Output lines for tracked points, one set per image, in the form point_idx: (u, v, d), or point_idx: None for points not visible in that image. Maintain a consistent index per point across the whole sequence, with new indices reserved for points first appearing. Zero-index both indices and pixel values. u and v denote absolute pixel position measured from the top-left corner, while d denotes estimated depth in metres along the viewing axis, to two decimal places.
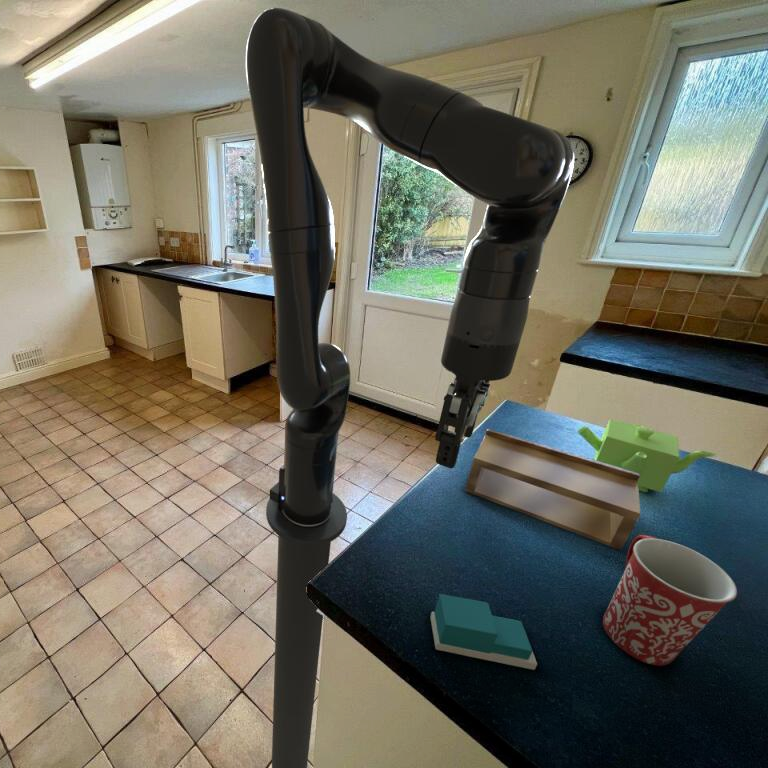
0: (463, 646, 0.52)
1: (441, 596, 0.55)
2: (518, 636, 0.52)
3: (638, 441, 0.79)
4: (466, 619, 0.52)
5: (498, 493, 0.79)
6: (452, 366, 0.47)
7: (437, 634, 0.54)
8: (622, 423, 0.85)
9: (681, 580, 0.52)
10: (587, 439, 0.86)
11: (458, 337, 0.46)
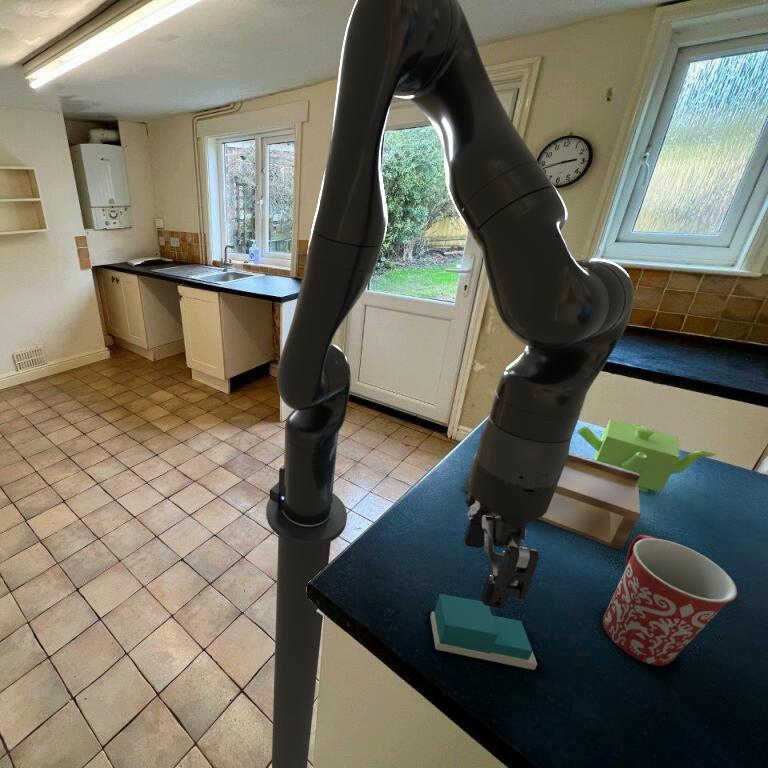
0: (463, 646, 0.52)
1: (441, 596, 0.55)
2: (518, 636, 0.52)
3: (638, 441, 0.79)
4: (466, 619, 0.52)
5: None
6: (499, 508, 0.42)
7: (437, 634, 0.54)
8: (622, 423, 0.85)
9: (681, 580, 0.52)
10: (587, 439, 0.86)
11: (506, 480, 0.40)
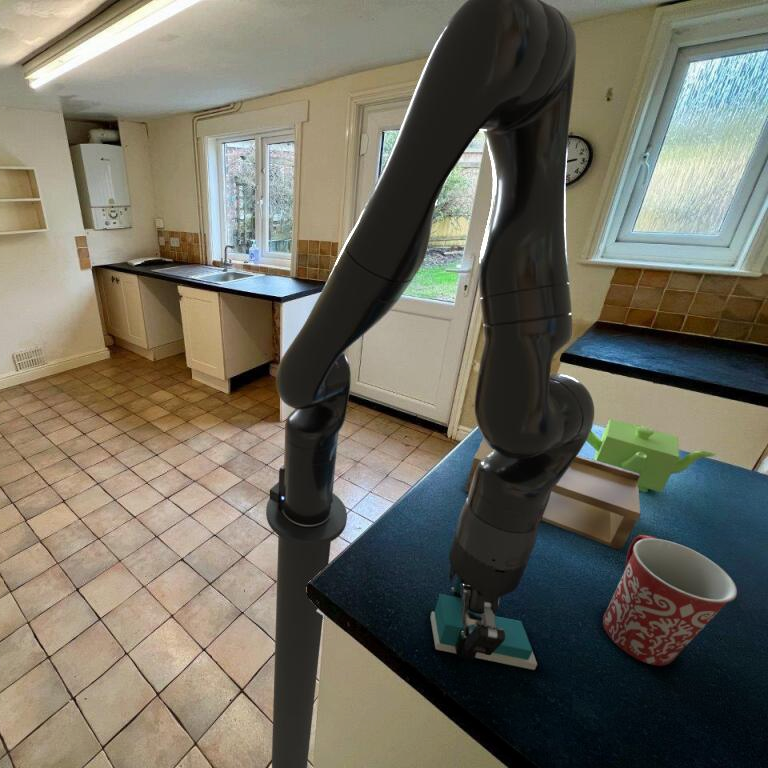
0: None
1: (441, 596, 0.55)
2: (518, 636, 0.52)
3: (638, 441, 0.79)
4: None
5: None
6: (474, 583, 0.46)
7: (437, 634, 0.54)
8: (622, 423, 0.85)
9: (681, 580, 0.52)
10: (587, 439, 0.86)
11: (480, 560, 0.45)
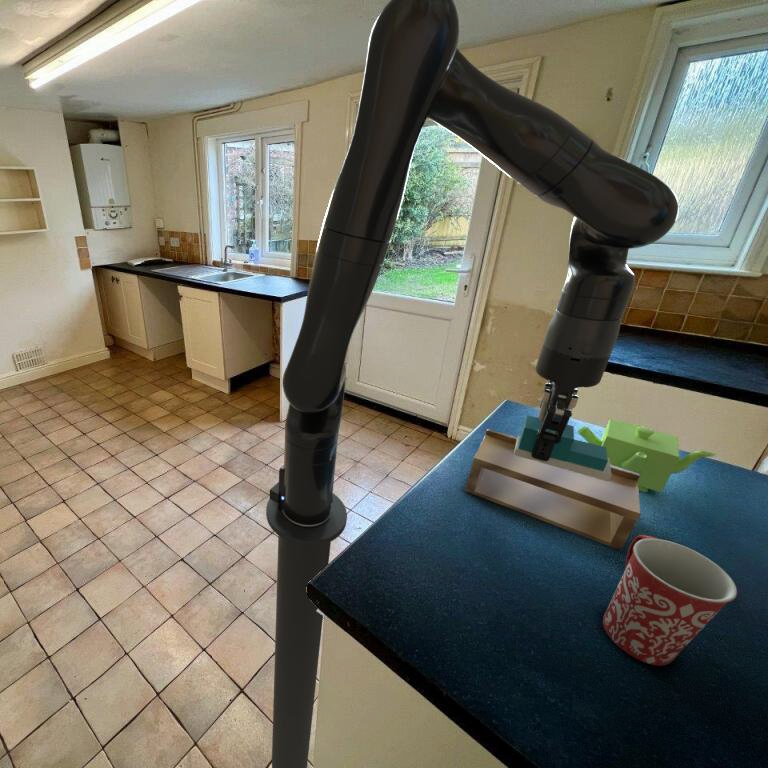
0: None
1: (527, 416, 0.64)
2: (597, 452, 0.59)
3: (638, 441, 0.79)
4: (546, 429, 0.61)
5: (498, 493, 0.79)
6: (552, 376, 0.56)
7: (518, 444, 0.64)
8: (622, 423, 0.85)
9: (681, 580, 0.52)
10: (587, 439, 0.86)
11: (559, 352, 0.55)
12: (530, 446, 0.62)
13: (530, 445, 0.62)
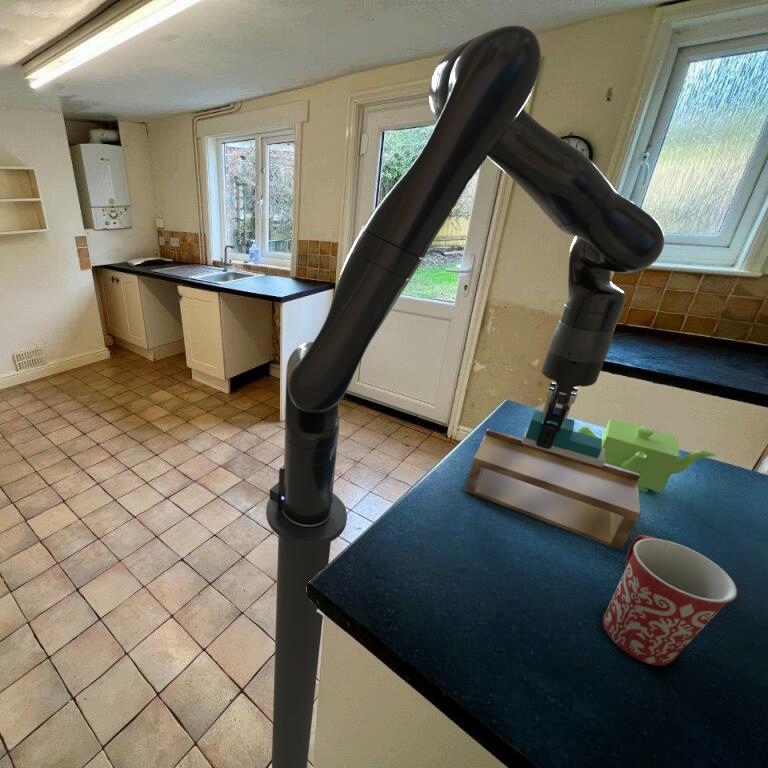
0: None
1: (535, 411, 0.75)
2: (593, 442, 0.69)
3: (638, 441, 0.79)
4: (550, 421, 0.72)
5: (498, 493, 0.79)
6: (554, 376, 0.67)
7: (525, 434, 0.75)
8: (622, 423, 0.85)
9: (681, 580, 0.52)
10: None
11: (560, 356, 0.66)
12: (535, 436, 0.73)
13: (535, 435, 0.73)
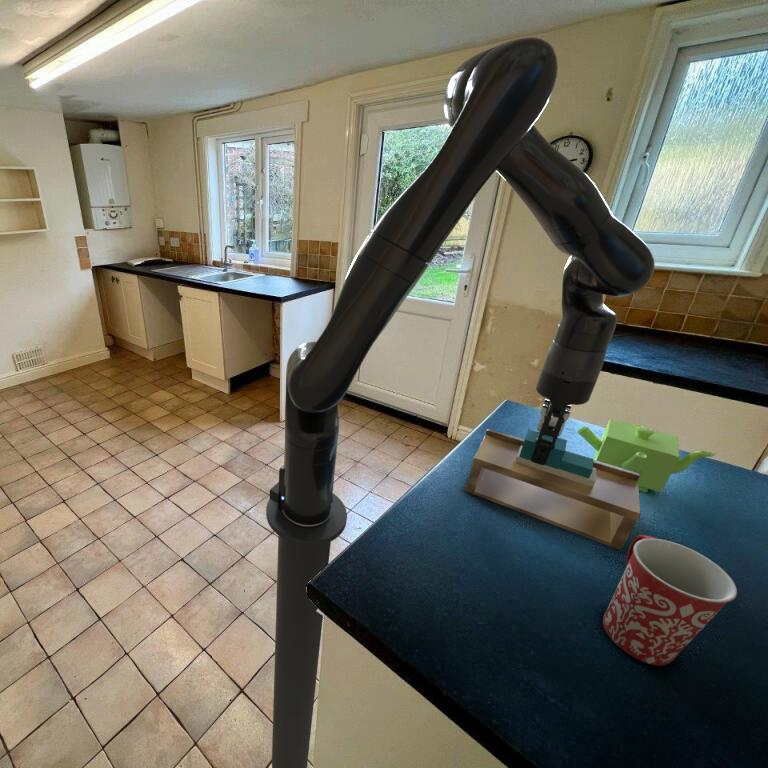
0: None
1: (528, 430, 0.77)
2: (585, 463, 0.71)
3: (638, 441, 0.79)
4: None
5: (498, 493, 0.79)
6: (548, 394, 0.68)
7: (519, 453, 0.77)
8: (622, 423, 0.85)
9: (681, 580, 0.52)
10: (587, 439, 0.86)
11: (554, 375, 0.67)
12: (529, 455, 0.75)
13: (529, 454, 0.74)
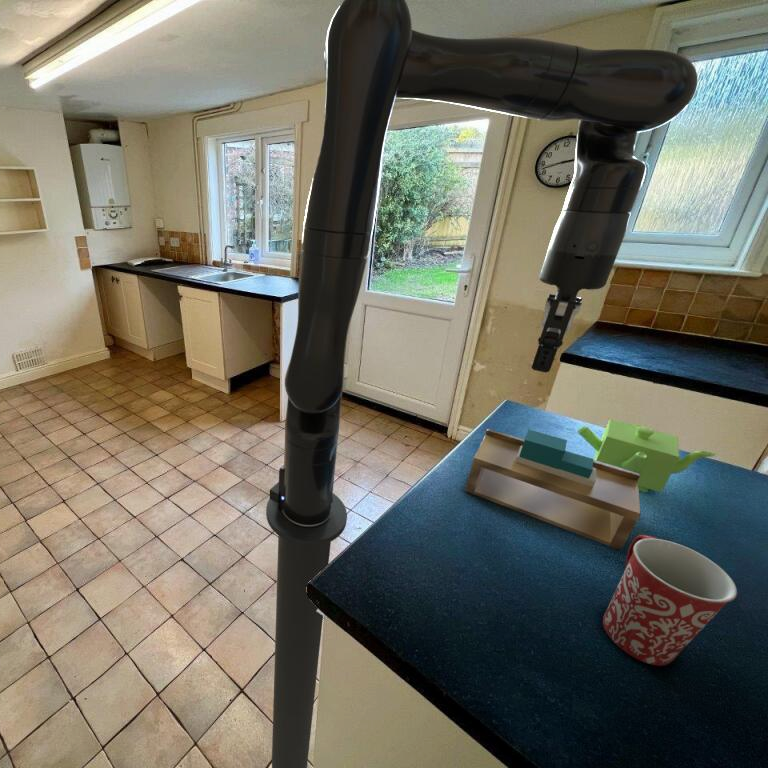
0: (537, 460, 0.74)
1: (528, 430, 0.77)
2: (585, 463, 0.71)
3: (638, 441, 0.79)
4: (543, 441, 0.73)
5: (498, 493, 0.79)
6: (555, 278, 0.55)
7: (519, 453, 0.77)
8: (622, 423, 0.85)
9: (681, 580, 0.52)
10: (587, 439, 0.86)
11: (563, 251, 0.53)
12: (529, 455, 0.75)
13: (529, 454, 0.74)
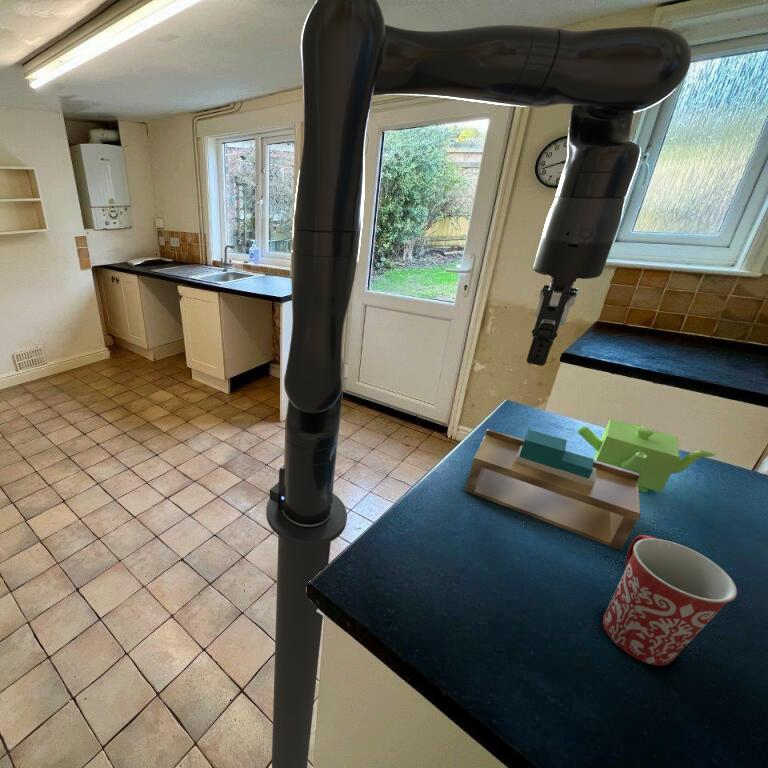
0: (537, 460, 0.74)
1: (528, 430, 0.77)
2: (585, 463, 0.71)
3: (638, 441, 0.79)
4: (543, 441, 0.73)
5: (498, 493, 0.79)
6: (548, 268, 0.53)
7: (519, 453, 0.77)
8: (622, 423, 0.85)
9: (681, 580, 0.52)
10: (587, 439, 0.86)
11: (556, 240, 0.51)
12: (529, 455, 0.75)
13: (529, 454, 0.74)
